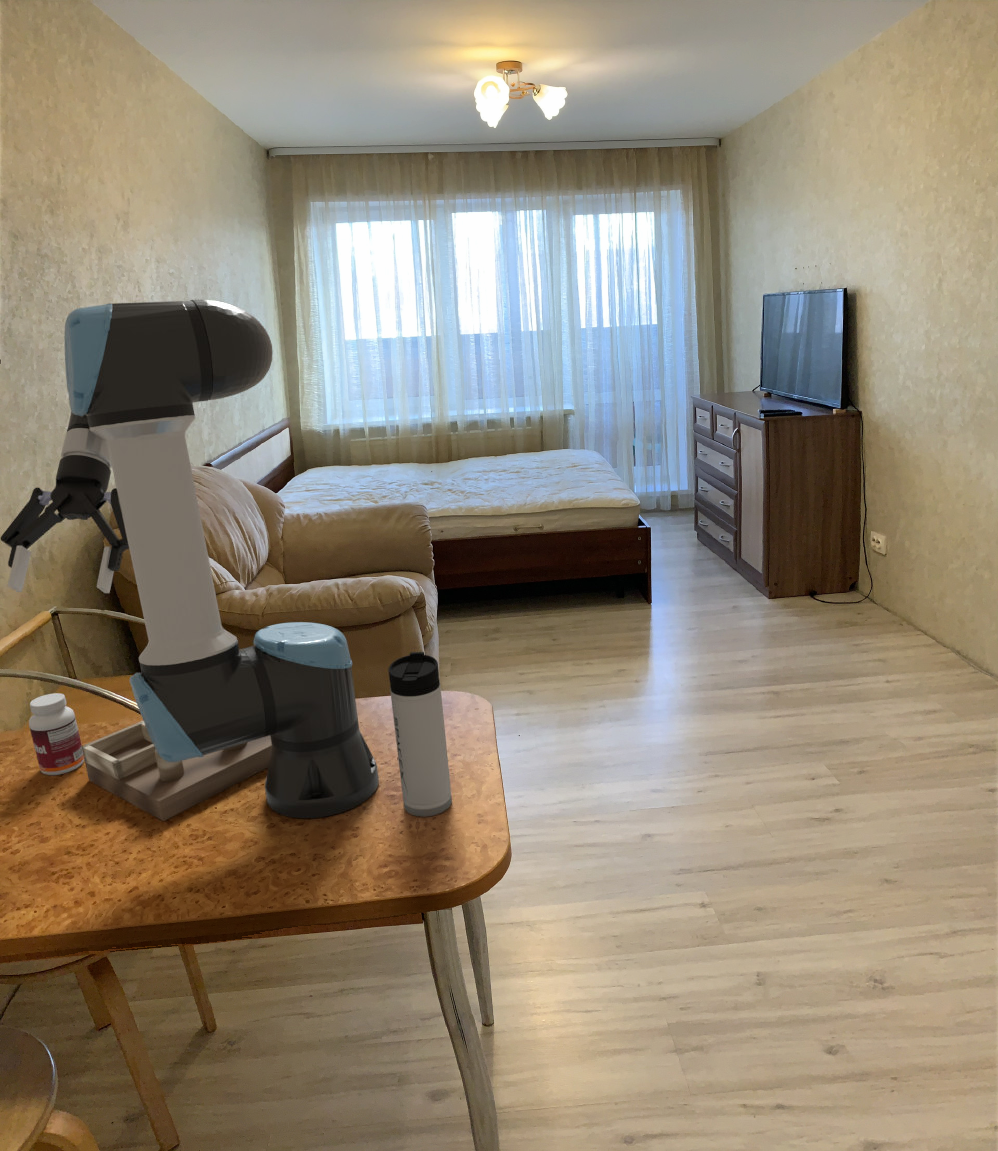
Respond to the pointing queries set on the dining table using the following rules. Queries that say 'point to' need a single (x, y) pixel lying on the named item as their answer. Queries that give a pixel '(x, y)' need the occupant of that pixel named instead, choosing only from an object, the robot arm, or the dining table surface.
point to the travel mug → (420, 734)
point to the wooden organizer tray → (167, 770)
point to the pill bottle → (55, 735)
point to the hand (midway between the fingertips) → (58, 589)
